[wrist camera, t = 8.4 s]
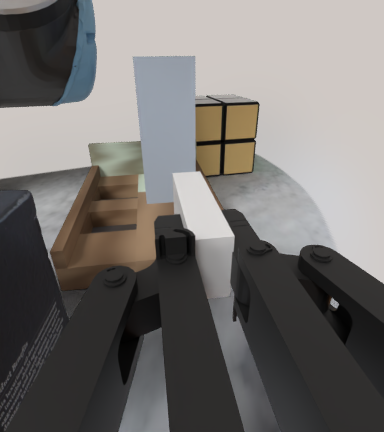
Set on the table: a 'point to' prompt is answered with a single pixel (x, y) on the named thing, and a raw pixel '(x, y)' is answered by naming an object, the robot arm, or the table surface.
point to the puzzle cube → (225, 134)
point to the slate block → (165, 121)
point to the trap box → (109, 218)
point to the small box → (24, 301)
